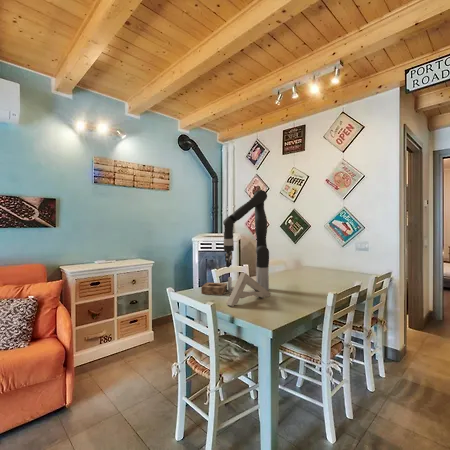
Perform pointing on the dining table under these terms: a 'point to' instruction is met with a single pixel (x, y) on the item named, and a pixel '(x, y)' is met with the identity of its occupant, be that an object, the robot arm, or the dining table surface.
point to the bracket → (230, 284)
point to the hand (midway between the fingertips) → (229, 266)
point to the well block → (214, 288)
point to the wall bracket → (239, 292)
